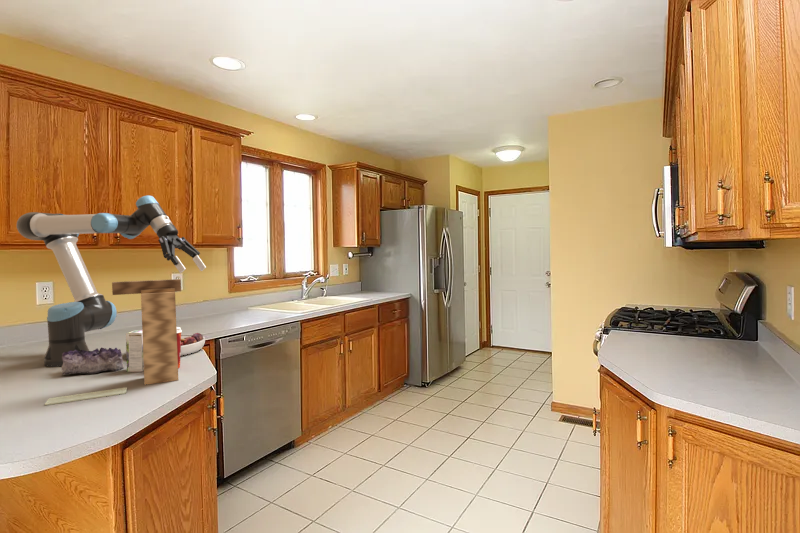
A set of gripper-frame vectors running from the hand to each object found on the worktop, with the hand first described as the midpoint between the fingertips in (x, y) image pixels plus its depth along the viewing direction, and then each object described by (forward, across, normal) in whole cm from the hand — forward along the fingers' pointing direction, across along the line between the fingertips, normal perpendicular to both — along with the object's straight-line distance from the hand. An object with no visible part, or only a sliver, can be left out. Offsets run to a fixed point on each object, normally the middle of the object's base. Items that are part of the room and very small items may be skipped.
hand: (193, 270), depth 183 cm
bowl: (+19, +6, +36) cm, 41 cm away
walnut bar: (+8, -32, 0) cm, 33 cm away
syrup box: (+24, -21, +29) cm, 43 cm away
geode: (+14, -24, +42) cm, 51 cm away
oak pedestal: (+33, -30, +16) cm, 47 cm away
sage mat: (+27, -50, +23) cm, 62 cm away
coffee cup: (+30, -17, +20) cm, 40 cm away
